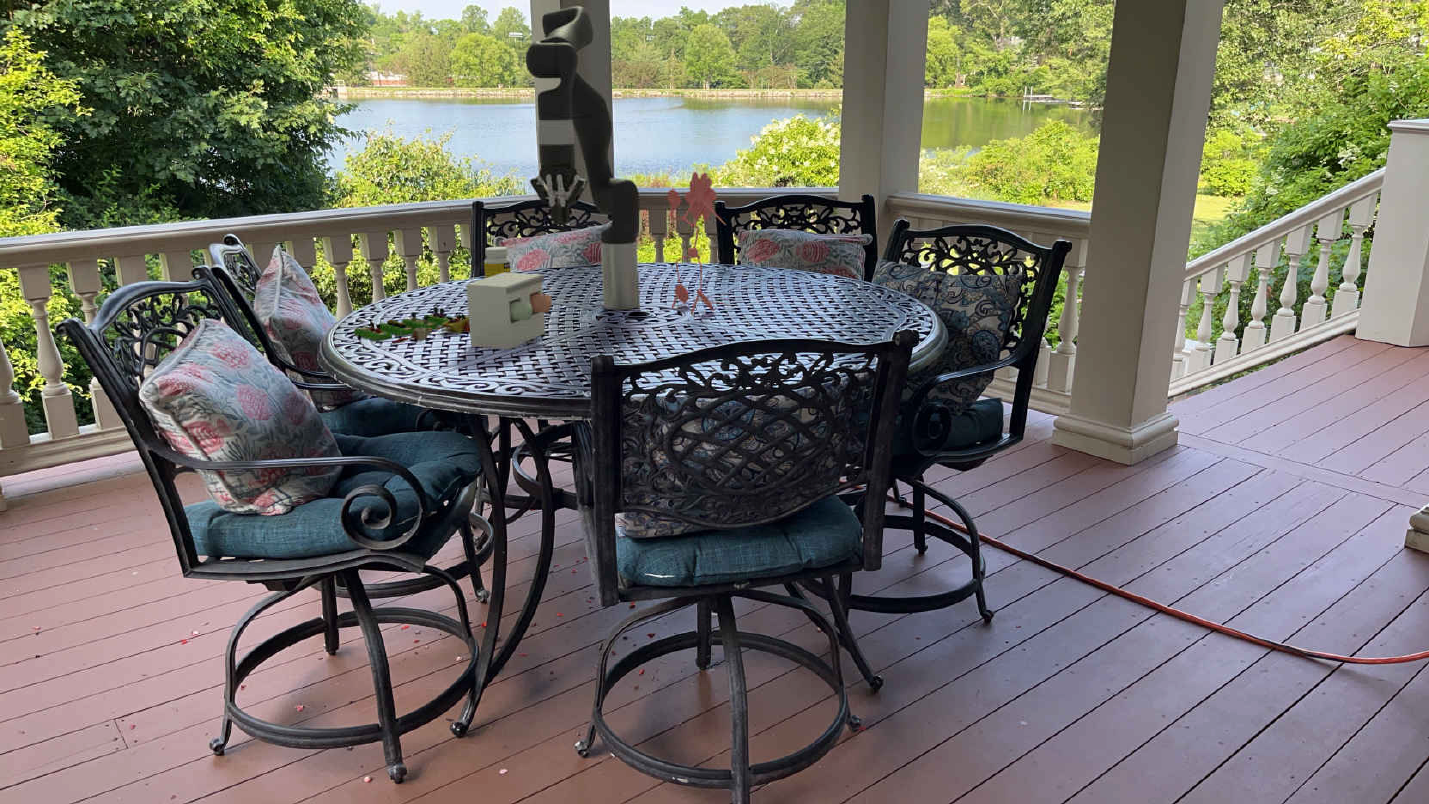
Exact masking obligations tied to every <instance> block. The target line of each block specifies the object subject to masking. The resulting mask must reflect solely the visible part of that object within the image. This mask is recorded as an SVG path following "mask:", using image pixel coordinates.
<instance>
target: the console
mask: <svg viewBox="0 0 1429 804" xmlns="http://www.w3.org/2000/svg"><path fill="white" fill-rule="evenodd" d="M544 281H545V276H544V275H542V274H537V273H536V274H535V273H533V274H532V273H519V272H518V273H517V272H511V273H501V274H498V275H495V276H491V277H488V278H482V279H480V280H477V281H473V282H471V283H467V284H465V286H466V297H467V298H466V300H467V310H468V311H467V312H468V317H469V325H470V332H469V333H470V334H469V336H470V337H469V338H470V346H471V347H477V348H478V347H479V348H489V347H490V348H491V349H500V348H502V349H503V350H512V349H514V348H516V347H518V346H521V345H523V344H525V343H527V342H529V341H531V339H532V340H534V339H536V338H538V337H540V336H539V335H541V336H543V335H544V333H546V331H545V328H546V327H545V312H533V311H532V316H531V319H530V320H528V321H525V320H512V319H511V318H510V304H509V302H510V301H512V302H527V303H530V294H539V295H544V293H543V282H544ZM542 334H543V335H542ZM537 336H538V337H537ZM535 337H536V338H535ZM533 338H534V339H533ZM526 341H527V342H526ZM524 342H525V343H524Z"/></svg>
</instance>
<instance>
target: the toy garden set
mask: <svg viewBox="0 0 1429 804" xmlns="http://www.w3.org/2000/svg"><path fill="white" fill-rule="evenodd" d="M432 310H433V313H432V314H426V315H425V314H424V315H423V319H420V318H417V317H416V316H417V312H414V311H412V312H411V313H410V314H411V316H412V317H411V318H408V319H406V318H403V319H402V320H401V322H399V321H398V320H393V319H388V320H386V323H383V322H382V323H376V324H375V323H374V322H372V321H370V323H369V326H367V325H365V326H363V327H361V328H360V327H356V328H355V329H354V331H353V333H354V334H353V335H354V336H358V335H360V336H359V337H361V336H362V338H366V339H369V340H372V341H382V340H388V339H389V340H390V339H392V338H393V335H397V336H400V337H402V336H403V335H404V336H406V335H407V336H408V335H411V337H404V336H403V337H402V338H398V339H396V340H394V341H393V342H392V343H393V344H397V343H399V342H401V343H402V342H405V341H408V340H411V339H414V340H417V341H424V340H427V339H428V336H429V335H430V333H432V332H433V330H436V331H439V330H441V331H442V332H446V331H448V332H452V333H455V334H456V333H457V334H460V333H462V332H463V331H464V332H465V333H470V325H469V315H465V314H463V313H461V314H457V315H456V317H453V316H448V315H445V313H444V312H445V310H446V309H445V308H439V307H436V306H433V308H432ZM438 324H439V325H438ZM392 334H393V335H392Z"/></svg>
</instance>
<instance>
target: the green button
mask: <svg viewBox="0 0 1429 804" xmlns="http://www.w3.org/2000/svg"><path fill="white" fill-rule="evenodd" d="M509 304H510V318H511V319H512V320H525V321H528V320H530V319H531V316H532V306H531V304H530V303H527V302H512V301H510V302H509Z"/></svg>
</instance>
